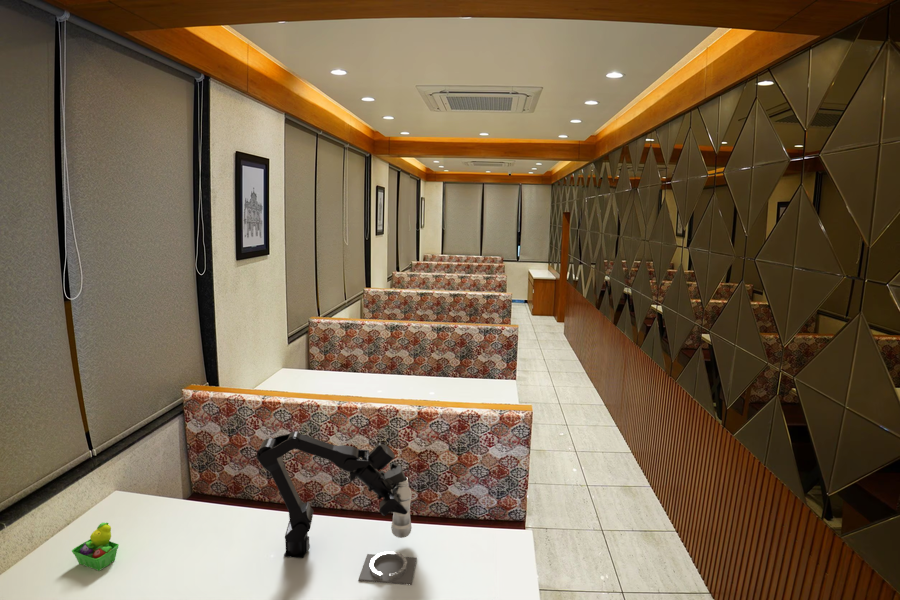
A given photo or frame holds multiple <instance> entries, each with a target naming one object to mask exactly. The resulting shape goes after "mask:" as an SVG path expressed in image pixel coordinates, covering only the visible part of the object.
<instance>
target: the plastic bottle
mask: <svg viewBox="0 0 900 600" xmlns="http://www.w3.org/2000/svg"><path fill="white" fill-rule="evenodd" d="M408 484H409V479H408V477H407V476H405V480H404V481H403V482H399V483H397V484H396V486H395V488H394V489H393V491H392V493H394V494H395V495H396V496H397V495H399V502H400V503H401V504H402V505H403V506H404V508H405V509H406V510H407V514H400V513H395V512H392V514H393V515H392V522H391V533H392V535H393V536H394V537H396V538H398V539H400V538H401V539H403V538H407V537H409V536H410V534H411V532H412V528H413V527H412V521H411V511H410V510H411V502H412V494H413V493H412V490H411V488H410V486H408Z"/></svg>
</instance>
